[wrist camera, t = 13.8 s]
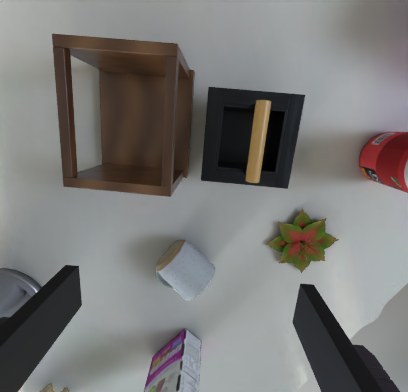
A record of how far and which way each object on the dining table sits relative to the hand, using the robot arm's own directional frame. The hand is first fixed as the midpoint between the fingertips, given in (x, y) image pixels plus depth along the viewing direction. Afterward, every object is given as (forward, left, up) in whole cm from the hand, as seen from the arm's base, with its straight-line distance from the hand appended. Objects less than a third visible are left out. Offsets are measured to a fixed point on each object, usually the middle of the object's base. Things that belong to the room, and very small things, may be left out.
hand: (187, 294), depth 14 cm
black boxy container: (+5, +8, -29) cm, 30 cm away
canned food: (+28, +7, -29) cm, 41 cm away
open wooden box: (-11, +9, -29) cm, 32 cm away
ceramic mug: (-3, -16, -29) cm, 33 cm away
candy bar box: (-3, -37, -29) cm, 47 cm away
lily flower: (+18, -9, -29) cm, 35 cm away
